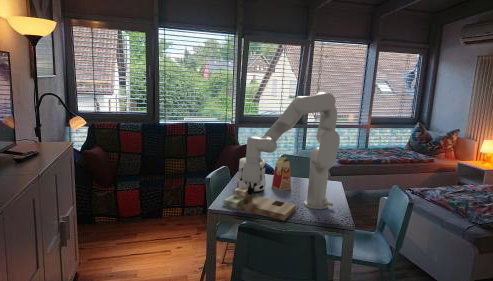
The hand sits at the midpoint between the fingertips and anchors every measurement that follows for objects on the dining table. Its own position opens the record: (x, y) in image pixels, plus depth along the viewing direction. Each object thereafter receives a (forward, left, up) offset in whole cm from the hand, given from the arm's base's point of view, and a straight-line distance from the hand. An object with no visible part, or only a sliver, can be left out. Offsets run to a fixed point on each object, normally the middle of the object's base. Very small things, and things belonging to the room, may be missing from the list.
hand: (250, 194), depth 176 cm
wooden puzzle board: (-7, +4, -5) cm, 10 cm away
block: (+5, +1, -2) cm, 5 cm away
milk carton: (-3, -36, -5) cm, 36 cm away
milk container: (+10, -20, -5) cm, 23 cm away
